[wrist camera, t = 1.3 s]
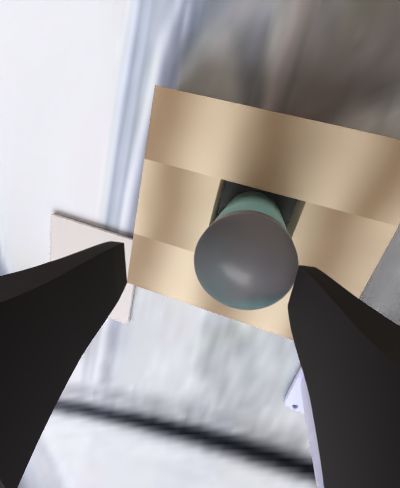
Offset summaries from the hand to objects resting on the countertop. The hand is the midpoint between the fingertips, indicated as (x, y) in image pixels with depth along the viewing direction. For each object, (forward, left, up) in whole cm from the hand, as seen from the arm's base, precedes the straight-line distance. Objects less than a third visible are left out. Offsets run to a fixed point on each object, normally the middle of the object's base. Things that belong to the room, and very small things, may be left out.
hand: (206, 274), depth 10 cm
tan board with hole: (-1, -1, -10) cm, 10 cm away
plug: (-1, -1, -10) cm, 10 cm away
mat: (+12, +9, -10) cm, 17 cm away
